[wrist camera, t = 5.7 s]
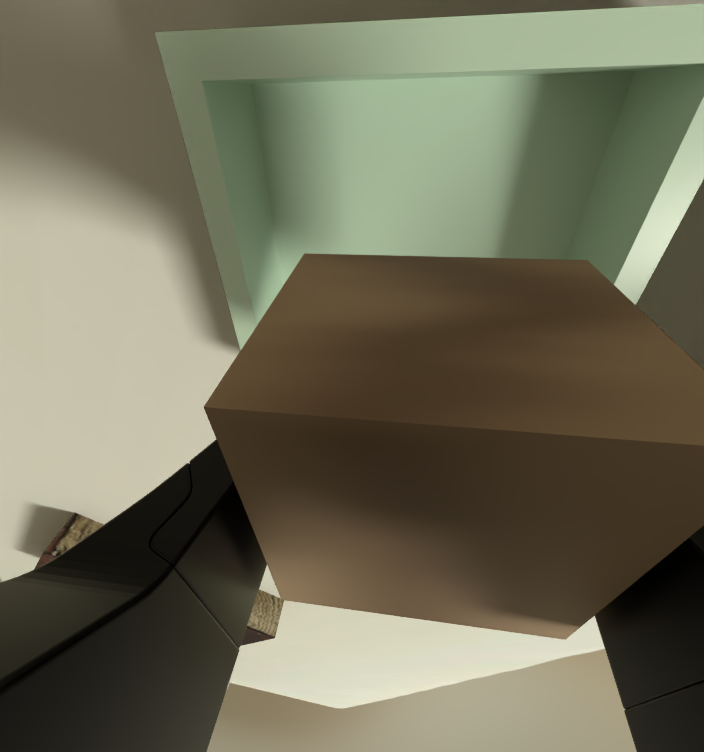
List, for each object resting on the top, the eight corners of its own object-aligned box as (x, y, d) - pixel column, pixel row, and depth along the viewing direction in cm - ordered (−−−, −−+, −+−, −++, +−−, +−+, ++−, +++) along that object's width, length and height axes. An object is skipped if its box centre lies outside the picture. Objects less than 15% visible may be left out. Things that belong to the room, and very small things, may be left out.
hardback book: (50, 552, 50) (21, 590, 47) (78, 508, 40) (43, 552, 36) (226, 618, 60) (214, 654, 56) (284, 595, 50) (274, 638, 46)
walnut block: (587, 259, 7) (792, 452, 3) (510, 447, 11) (565, 639, 7) (304, 253, 8) (204, 407, 4) (323, 432, 12) (281, 599, 8)
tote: (667, 31, 11) (800, -2, 8) (530, 383, 21) (558, 448, 17) (229, 50, 13) (154, 32, 9) (286, 368, 22) (260, 425, 19)
